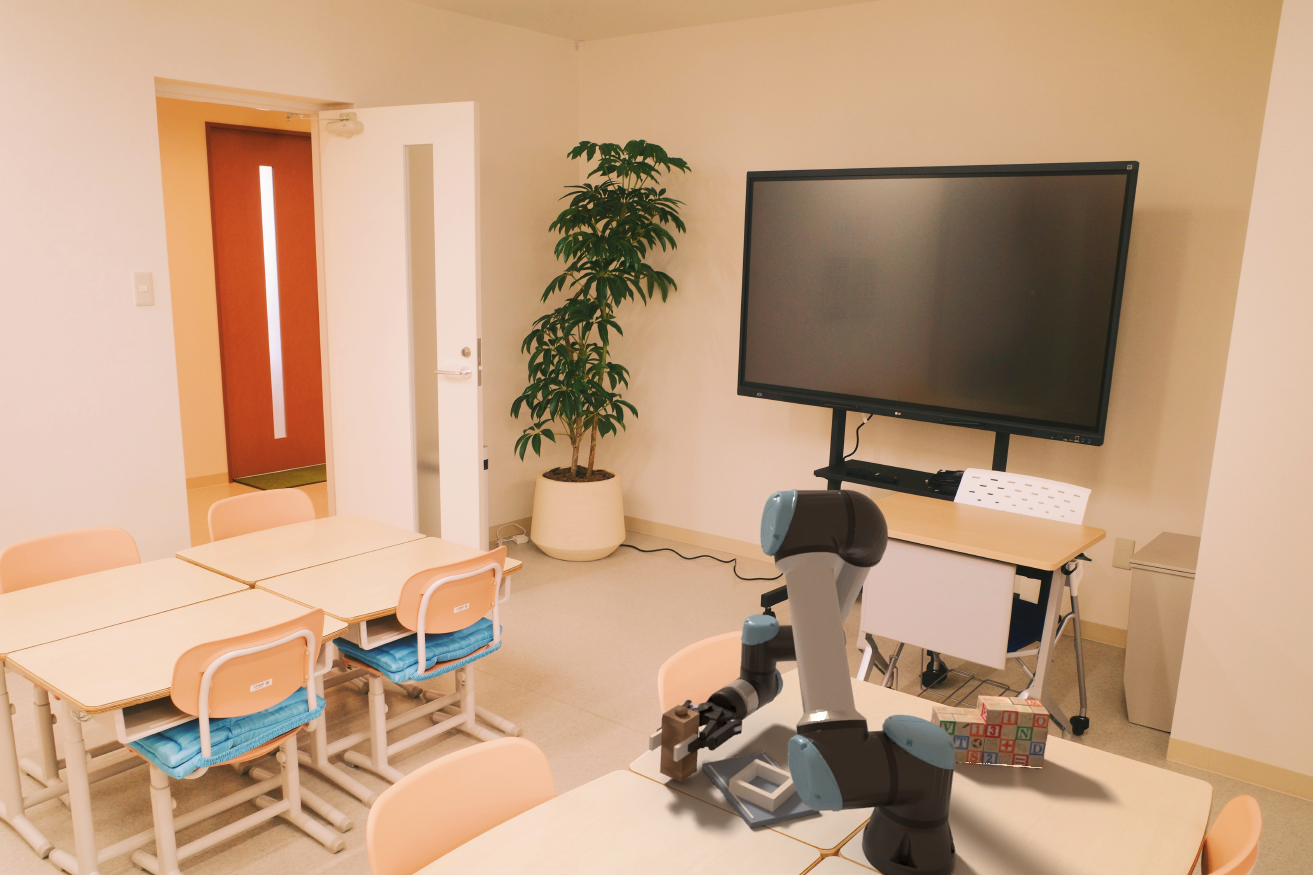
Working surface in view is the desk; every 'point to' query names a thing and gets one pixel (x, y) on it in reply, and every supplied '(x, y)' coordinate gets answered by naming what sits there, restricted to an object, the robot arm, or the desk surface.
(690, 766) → the pillar
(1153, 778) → the desk surface
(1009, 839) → the desk surface
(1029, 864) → the desk surface
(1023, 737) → the stack of blocks
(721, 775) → the board
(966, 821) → the desk surface
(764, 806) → the socket collar
